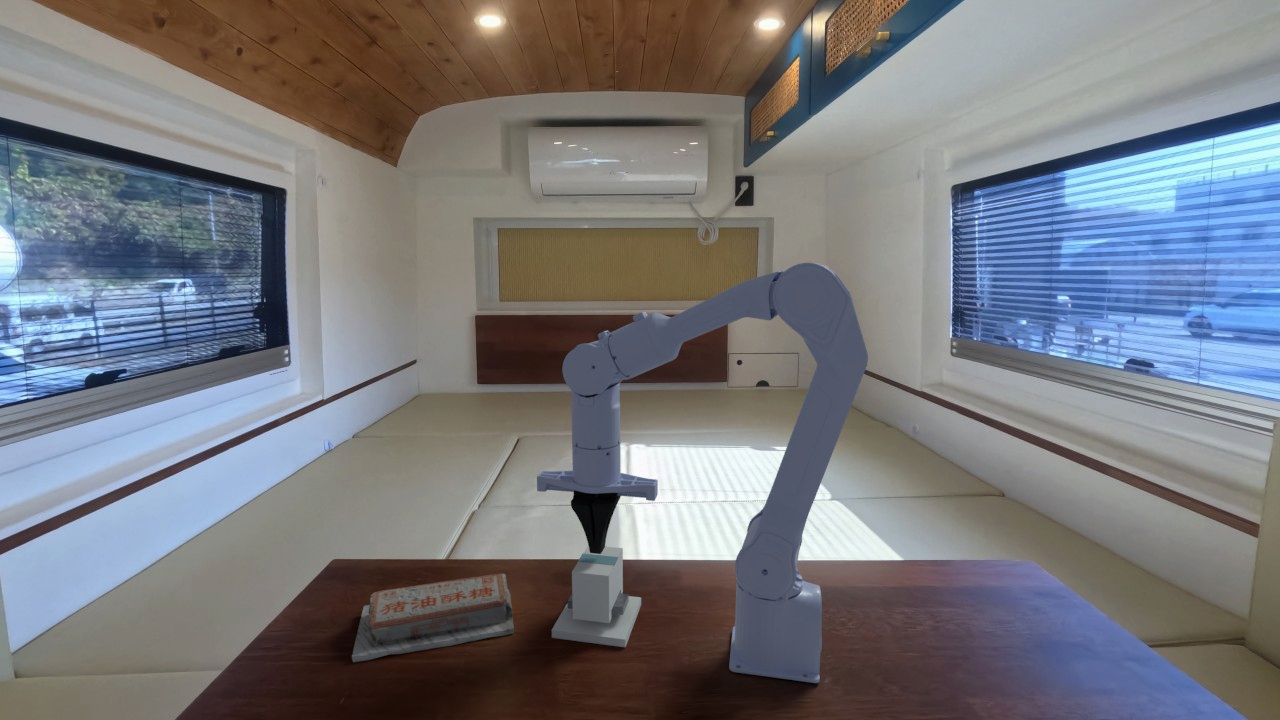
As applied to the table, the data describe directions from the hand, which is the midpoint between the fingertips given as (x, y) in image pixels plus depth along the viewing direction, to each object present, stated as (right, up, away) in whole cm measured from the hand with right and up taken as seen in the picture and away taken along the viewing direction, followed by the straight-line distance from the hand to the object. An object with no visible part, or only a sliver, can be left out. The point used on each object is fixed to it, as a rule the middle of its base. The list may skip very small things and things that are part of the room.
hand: (597, 549), depth 73 cm
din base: (0, -9, +1) cm, 9 cm away
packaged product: (-20, -10, +1) cm, 22 cm away
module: (0, -7, +1) cm, 7 cm away
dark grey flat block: (0, -7, +1) cm, 7 cm away
